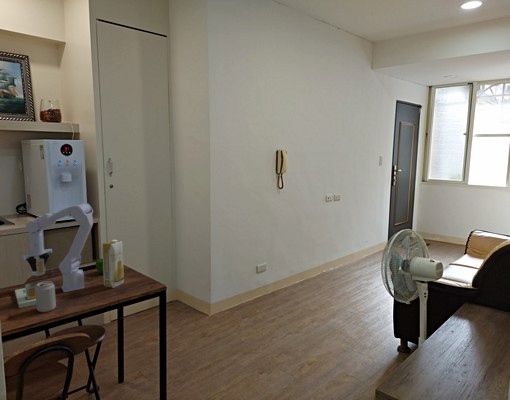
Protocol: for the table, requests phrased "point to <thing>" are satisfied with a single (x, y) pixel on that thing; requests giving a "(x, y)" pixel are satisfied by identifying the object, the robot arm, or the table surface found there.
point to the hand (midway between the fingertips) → (38, 269)
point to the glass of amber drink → (30, 291)
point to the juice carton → (113, 263)
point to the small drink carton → (39, 267)
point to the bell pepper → (99, 265)
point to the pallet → (23, 298)
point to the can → (45, 296)
